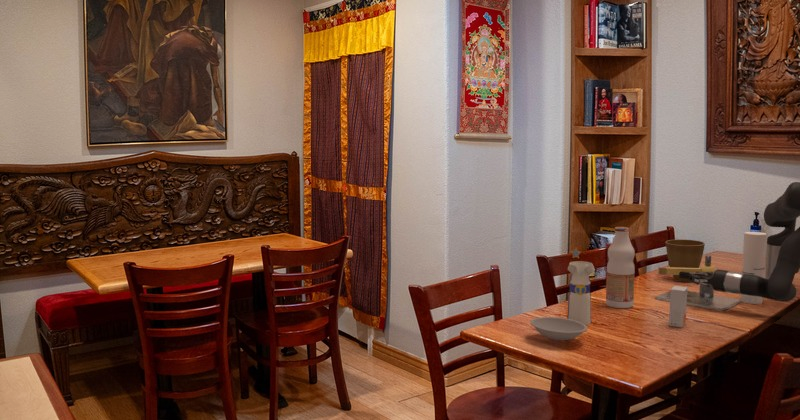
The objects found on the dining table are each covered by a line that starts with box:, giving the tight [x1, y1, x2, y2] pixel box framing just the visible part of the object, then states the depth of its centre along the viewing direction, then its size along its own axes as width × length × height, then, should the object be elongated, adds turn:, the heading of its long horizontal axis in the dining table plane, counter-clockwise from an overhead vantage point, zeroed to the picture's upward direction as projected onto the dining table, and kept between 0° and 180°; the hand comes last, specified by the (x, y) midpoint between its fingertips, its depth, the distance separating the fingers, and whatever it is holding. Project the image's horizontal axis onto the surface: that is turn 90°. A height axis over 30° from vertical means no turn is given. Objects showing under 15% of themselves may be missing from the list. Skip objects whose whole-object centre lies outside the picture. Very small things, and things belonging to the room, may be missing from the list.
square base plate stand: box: [654, 254, 742, 312], centre depth 249 cm, size 17×24×16 cm
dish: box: [529, 316, 588, 342], centre depth 204 cm, size 18×14×5 cm
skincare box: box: [668, 285, 688, 328], centre depth 219 cm, size 6×4×12 cm
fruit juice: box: [605, 226, 636, 309], centre depth 243 cm, size 9×9×28 cm
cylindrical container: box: [740, 231, 768, 305], centre depth 247 cm, size 7×7×25 cm
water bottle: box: [566, 248, 596, 326], centre depth 223 cm, size 8×9×25 cm
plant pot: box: [665, 238, 706, 283], centre depth 282 cm, size 15×15×16 cm
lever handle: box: [657, 264, 716, 276], centre depth 253 cm, size 19×5×4 cm, turn 81°
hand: (680, 274), depth 248 cm, fingers closed
